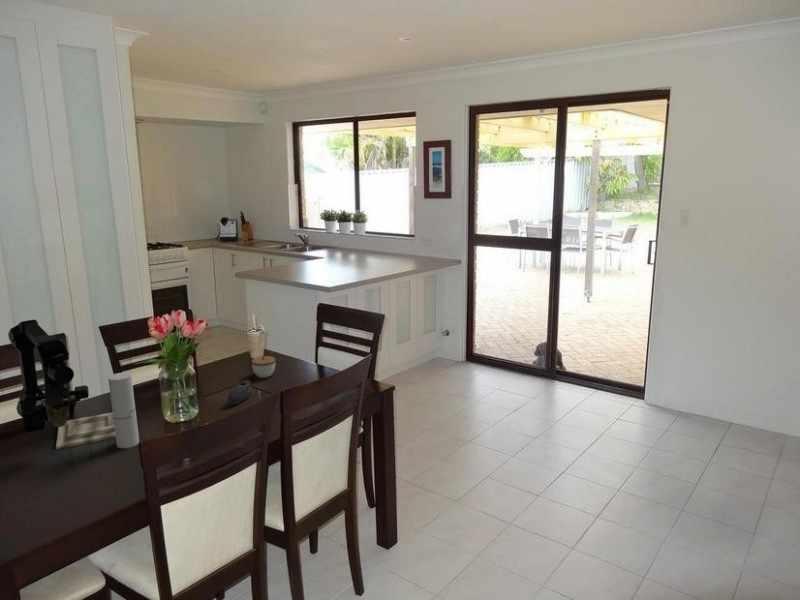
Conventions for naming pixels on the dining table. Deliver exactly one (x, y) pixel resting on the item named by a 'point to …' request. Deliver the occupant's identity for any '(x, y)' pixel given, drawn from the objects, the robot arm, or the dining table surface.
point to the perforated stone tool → (239, 393)
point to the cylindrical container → (123, 410)
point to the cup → (58, 413)
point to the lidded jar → (263, 366)
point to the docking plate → (86, 430)
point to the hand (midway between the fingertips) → (59, 419)
